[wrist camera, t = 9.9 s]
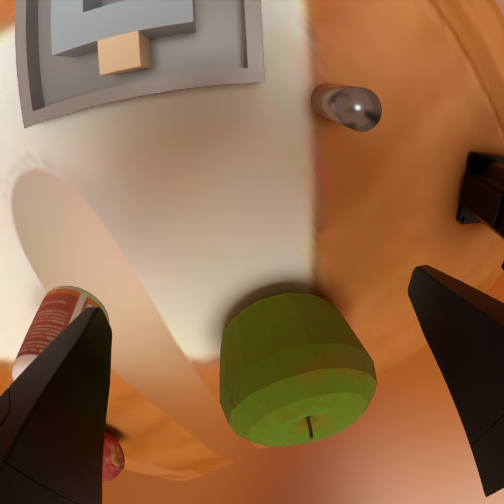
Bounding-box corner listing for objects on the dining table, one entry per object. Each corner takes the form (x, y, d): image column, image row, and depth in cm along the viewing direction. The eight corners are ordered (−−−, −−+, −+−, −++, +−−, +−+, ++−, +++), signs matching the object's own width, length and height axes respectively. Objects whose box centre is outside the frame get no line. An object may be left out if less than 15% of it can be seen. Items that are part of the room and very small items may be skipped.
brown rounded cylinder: (345, 84, 16) (382, 89, 12) (344, 118, 17) (380, 132, 13) (310, 83, 16) (341, 86, 12) (311, 118, 17) (340, 131, 13)
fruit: (87, 412, 31) (79, 466, 24) (136, 433, 35) (134, 484, 28) (69, 426, 33) (61, 472, 26) (112, 444, 37) (109, 489, 30)
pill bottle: (41, 317, 22) (0, 421, 13) (52, 269, 20) (-6, 386, 11) (100, 346, 25) (77, 455, 15) (120, 303, 22) (92, 431, 13)
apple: (211, 364, 28) (219, 471, 18) (223, 272, 22) (238, 407, 13) (320, 363, 30) (352, 455, 21) (359, 279, 24) (422, 384, 15)
